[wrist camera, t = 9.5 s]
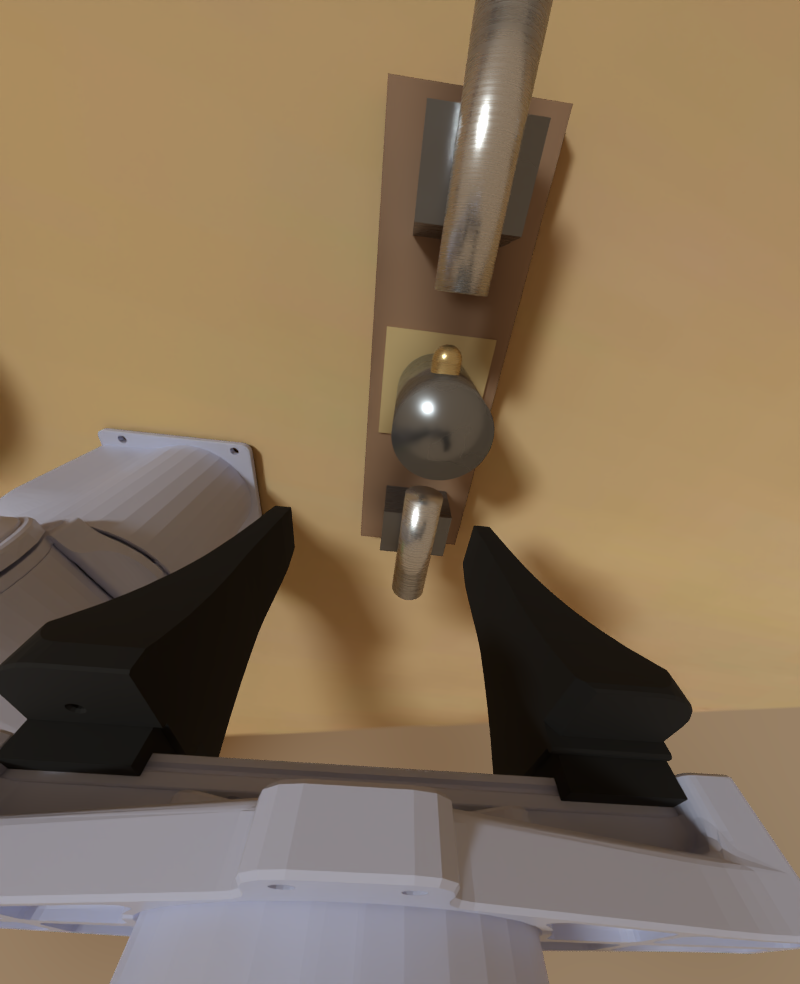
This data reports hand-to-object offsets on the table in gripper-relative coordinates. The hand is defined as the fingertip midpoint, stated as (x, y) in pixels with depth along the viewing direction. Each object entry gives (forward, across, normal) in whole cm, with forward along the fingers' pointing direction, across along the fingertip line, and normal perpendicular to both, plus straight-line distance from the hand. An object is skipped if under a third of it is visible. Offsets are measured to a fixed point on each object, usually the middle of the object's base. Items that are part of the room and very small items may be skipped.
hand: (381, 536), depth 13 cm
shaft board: (+9, -2, -4) cm, 10 cm away
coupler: (+8, -2, -4) cm, 9 cm away
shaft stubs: (+8, -2, -4) cm, 9 cm away
